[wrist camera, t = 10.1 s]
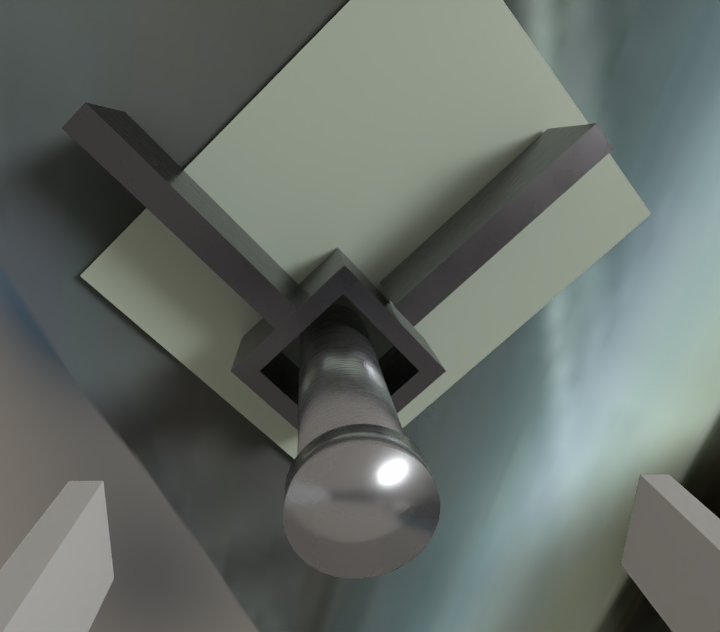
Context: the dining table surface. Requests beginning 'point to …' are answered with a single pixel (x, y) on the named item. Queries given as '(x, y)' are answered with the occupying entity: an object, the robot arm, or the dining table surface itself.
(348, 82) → the mat
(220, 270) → the hinge base
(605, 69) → the dining table surface
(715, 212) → the dining table surface
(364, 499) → the hinge pin
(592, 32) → the dining table surface
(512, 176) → the bolted dark bar
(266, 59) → the dining table surface
